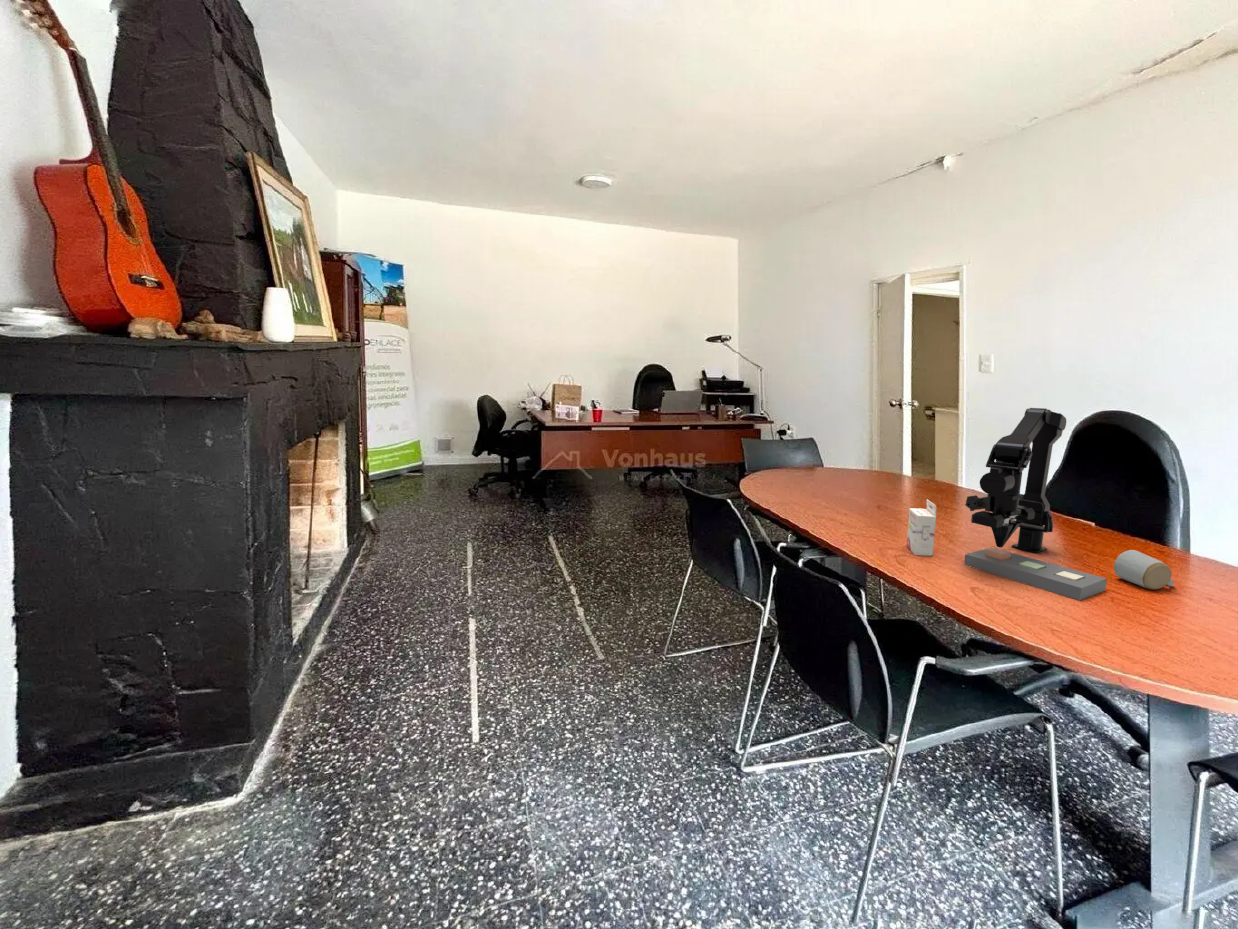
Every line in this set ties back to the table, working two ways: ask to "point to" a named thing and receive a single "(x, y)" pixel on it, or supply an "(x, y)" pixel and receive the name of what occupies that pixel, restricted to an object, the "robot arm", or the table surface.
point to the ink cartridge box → (922, 530)
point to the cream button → (1069, 576)
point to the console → (1038, 574)
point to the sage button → (1032, 565)
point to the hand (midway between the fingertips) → (999, 547)
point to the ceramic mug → (1142, 570)
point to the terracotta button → (998, 553)
